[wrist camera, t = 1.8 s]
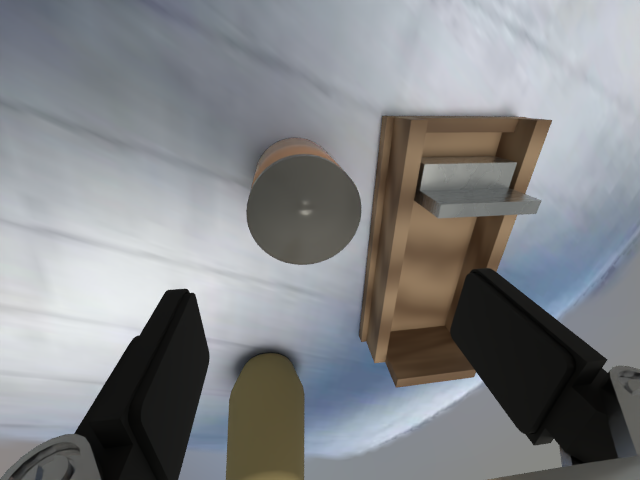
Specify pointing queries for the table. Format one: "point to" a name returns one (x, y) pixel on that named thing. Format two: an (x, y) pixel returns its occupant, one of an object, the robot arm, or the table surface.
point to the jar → (302, 203)
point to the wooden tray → (433, 240)
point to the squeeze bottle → (266, 422)
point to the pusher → (470, 187)
